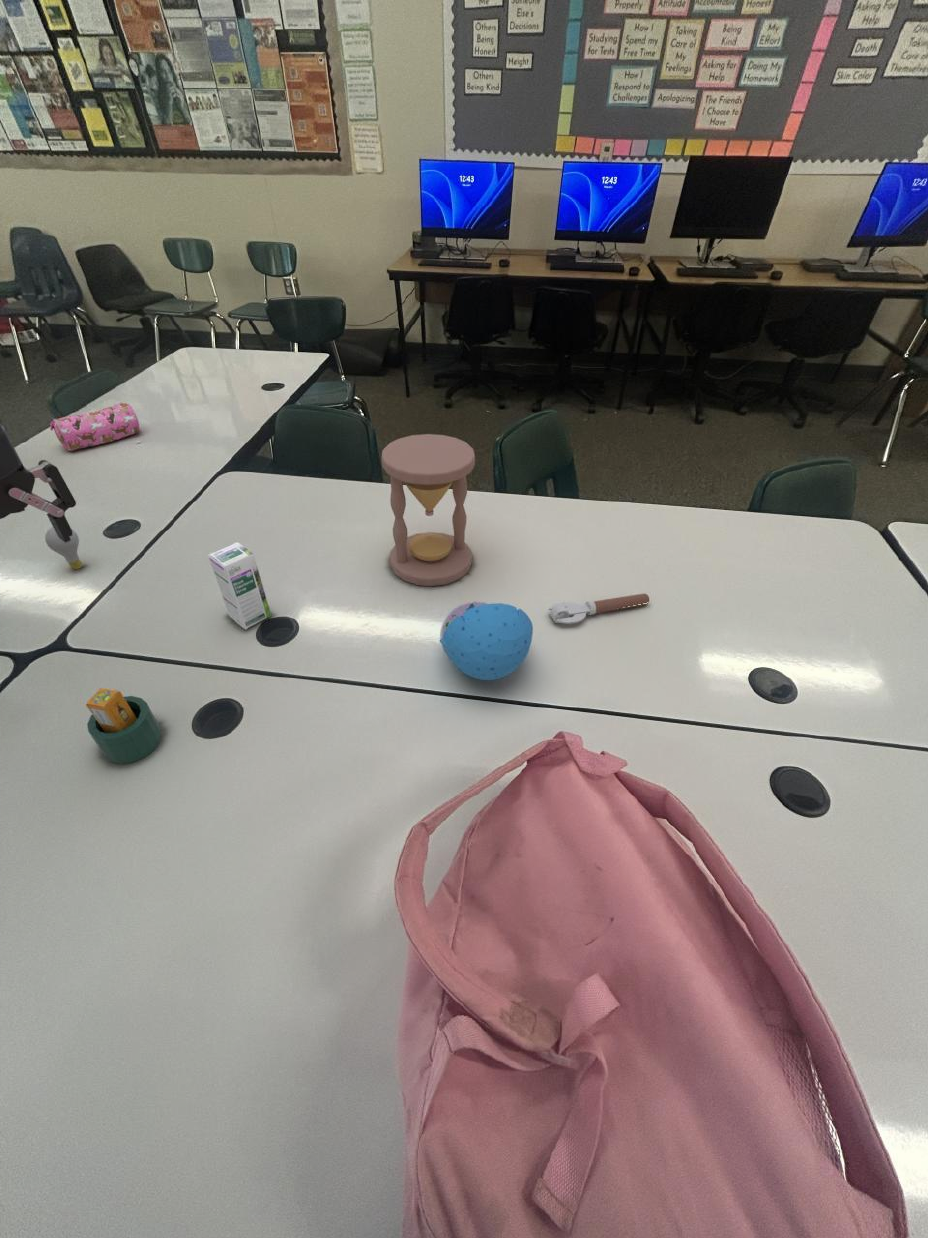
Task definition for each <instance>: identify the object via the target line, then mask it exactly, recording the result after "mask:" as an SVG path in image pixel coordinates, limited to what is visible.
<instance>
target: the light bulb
mask: <svg viewBox="0 0 928 1238" xmlns="http://www.w3.org/2000/svg"><path fill="white" fill-rule="evenodd" d="M71 530H72V536H69V537H70V539H71V541H69V542H66V543H65V542H64V541H62V540H61V539H60V538H59V537H58V535H57V533H56V531H55V530H54V528H53V526H51V528H49V529H48V530H47V531H46V533H45V543H46V545H47V547H48V548H49V549H50V550H51V551H53V552H55V553H57V555H58V554H59V555H60V556H61V557H63V558H64V559H65V560H66V562H67V564H68V565H69V567H70V568H71V569H72V570H79V569H81V568H82V567H83V563H82V561H81V558H80V556H79V555H78V547H79V545H80V544H79V543H80V538H79V536H78V533H77V532H76V531H75V530H74V529H73V528H71Z"/></svg>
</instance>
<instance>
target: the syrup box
mask: <svg viewBox="0 0 928 1238" xmlns="http://www.w3.org/2000/svg"><path fill="white" fill-rule="evenodd" d="M207 557H208V559H209V563H210V566H211V569H212V571H213V573H214V577H215V579H216V583H217V585H218V587H219V588H218V589H219V591H220V593H221V597H222V600H223V602H224V604H225V608H226V611H227V613H228V617H230V618H231V620H233V621H234V622H235V623H236V624H237V625H238V626H240V627H241V628H242V629H243V630H248V629H249V628H250V627H253V626H254V625H257V624H259V623H260V622H262V621H264V620H266V619H267V618H270V617H272V613H271V610H270V606H269V603H268V599H267V596H266V593H265V588H264V585H263V582H262V579H261V575H260V571H259V568H258V564H257V561H256V557H255V554H254V553H253V552H252V551H251V550H250V549H248V548H247V547H246V546H245V545H242V544H241V543H239V542H238V541H236V542H234V543H233V544H230V545H228V546H226V547H223V548H221V549H219V550H216V551H213V552H211V553H209V554H208V555H207Z"/></svg>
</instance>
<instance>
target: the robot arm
mask: <svg viewBox="0 0 928 1238" xmlns="http://www.w3.org/2000/svg"><path fill="white" fill-rule="evenodd" d="M36 479H39V480H40V481H42V482H43V483H46V484H48V486H49V487H50V489H51V491H52V492H53V494H54V495H55V497H56V498H55V499H54V500H53V501H50V500H48V499H45V498H43V497H41V496H39V495H38V494H36V493H34V492H33V489H34V486H35V482H36ZM28 505H29V506H31V507H33V508H35V509H37V510H40V511H41V512H45V513H46V516H47V518H48V520H49V522H50V523H51V527H53V528H54V530H55V531H56V533H57V535H58V537H59V538H60V539H61V540H62V541H64V542H65V543H66V542H69V541H71V539H70V537H69V536H72V530H71V529H72V527H71V525H70V523H69V522H68V520H67V517H66V515H65V513H66V511H67V510H68V509H70V508H71V509H72V508H74V507H76V505H77V501H76V500H75V498H74V496H73V494H72V492H71V490H70V488H69V486H68V485H67V482H66V481H65V479H64V477H63V476H62V474H61V472H60V470H59V468H58V467H57V466H55V464H52V463H51V462H49V461H48V460H46V459H41V460H39V461H38V462H37V465H36V466H33V467H31V468H28V469H27V468H26V467H25V466H24V464H23V462H22V460H21V458H20V456H19V454H18V452H17V451H16V448H15V446H14V444H13V443H12V440H11V438H10V437H9V435H8V433H7V431H6V429H5V427H4V424H3V421H2V418H1V417H0V520H2V519H4V518H7V517H8V516H10V515H11V514H18V513H23V512H25V511H26V508H27V507H28Z"/></svg>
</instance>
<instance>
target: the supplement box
mask: <svg viewBox="0 0 928 1238" xmlns="http://www.w3.org/2000/svg"><path fill="white" fill-rule="evenodd" d="M124 697H125V696H124V695H123V694H122V692H121V690H119V689H111V688H102V687H100V688H99V689H98V690H97V691H96V692H95V693H94V694H93V695H92V696H91V697H90V699H88V700H87V702H86V703H85V706H86V708H87V709H88V710H89V712H90V713H91V715H92V714H93V716H94V717H95V719H96V720H97V722H98V723H99V724H100V726H101V727H102V729H103V730H104V732H105V733H116V732H119V731H121V730H124V729H126V728H128V727H129V726H131V725H132V724H134V722H135V721H136V720H137V718H136V716H135V715H134V713H133V711H132V710H131V708H130V707H129V705H128V703H127V702H126V700H125V699H124Z"/></svg>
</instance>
